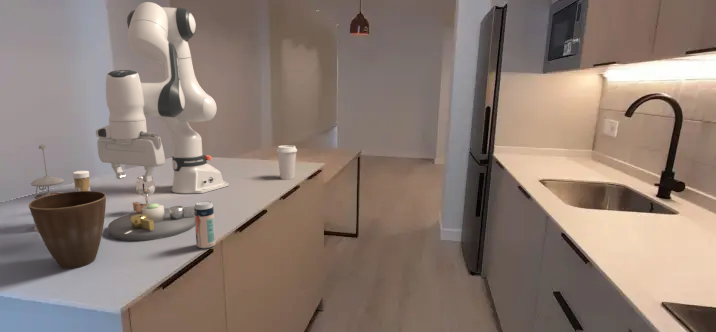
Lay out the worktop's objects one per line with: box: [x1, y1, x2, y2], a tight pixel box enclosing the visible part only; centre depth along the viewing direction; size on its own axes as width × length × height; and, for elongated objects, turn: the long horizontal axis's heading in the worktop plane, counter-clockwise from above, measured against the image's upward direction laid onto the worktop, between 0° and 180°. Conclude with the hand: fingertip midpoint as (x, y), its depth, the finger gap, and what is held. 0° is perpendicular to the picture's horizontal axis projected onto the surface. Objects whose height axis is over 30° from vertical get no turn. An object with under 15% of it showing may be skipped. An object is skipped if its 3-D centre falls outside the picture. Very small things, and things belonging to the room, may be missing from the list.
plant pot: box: [28, 190, 107, 269], centre depth 98 cm, size 15×15×16 cm
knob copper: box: [132, 201, 149, 214], centre depth 130 cm, size 8×4×3 cm, turn 50°
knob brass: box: [131, 214, 154, 230], centre depth 117 cm, size 8×4×3 cm, turn 57°
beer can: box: [194, 200, 216, 250], centre depth 109 cm, size 5×5×12 cm
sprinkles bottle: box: [72, 170, 92, 192], centre depth 139 cm, size 5×5×13 cm
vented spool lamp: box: [30, 144, 65, 232], centre depth 123 cm, size 10×12×25 cm
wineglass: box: [135, 176, 156, 204], centre depth 138 cm, size 6×6×12 cm
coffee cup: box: [276, 144, 298, 181], centre depth 190 cm, size 10×10×15 cm
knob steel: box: [168, 205, 195, 219], centre depth 127 cm, size 8×4×3 cm, turn 110°
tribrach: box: [107, 202, 195, 242], centre depth 125 cm, size 24×24×7 cm
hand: (134, 180), depth 115 cm, fingers open, 8 cm apart
